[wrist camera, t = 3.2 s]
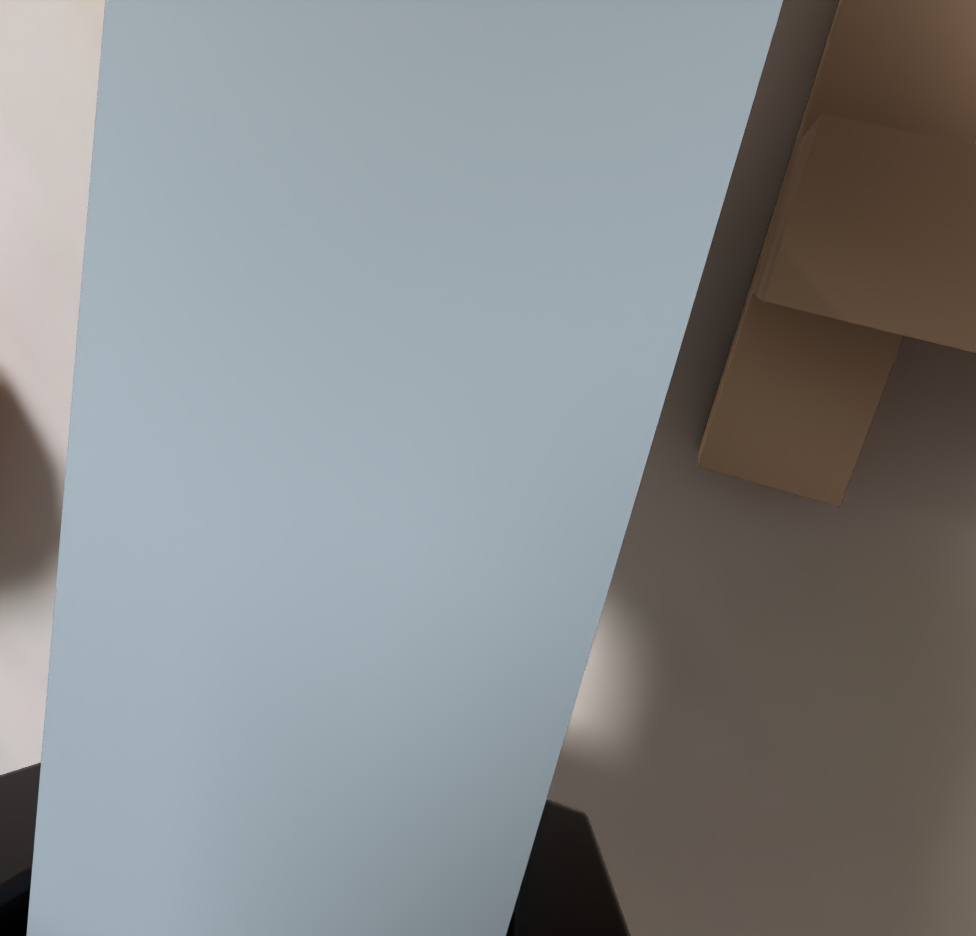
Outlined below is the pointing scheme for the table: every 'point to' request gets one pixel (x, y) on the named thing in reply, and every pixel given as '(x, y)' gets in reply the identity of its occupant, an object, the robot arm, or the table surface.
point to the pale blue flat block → (360, 441)
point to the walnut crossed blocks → (856, 247)
